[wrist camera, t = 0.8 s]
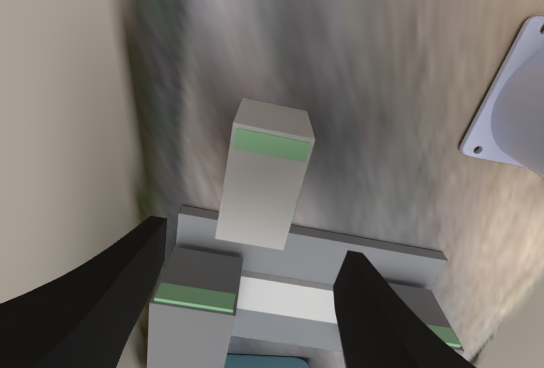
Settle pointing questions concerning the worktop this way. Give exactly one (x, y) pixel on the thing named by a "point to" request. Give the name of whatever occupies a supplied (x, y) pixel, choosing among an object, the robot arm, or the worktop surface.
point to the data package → (263, 362)
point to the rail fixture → (271, 291)
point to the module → (264, 173)
